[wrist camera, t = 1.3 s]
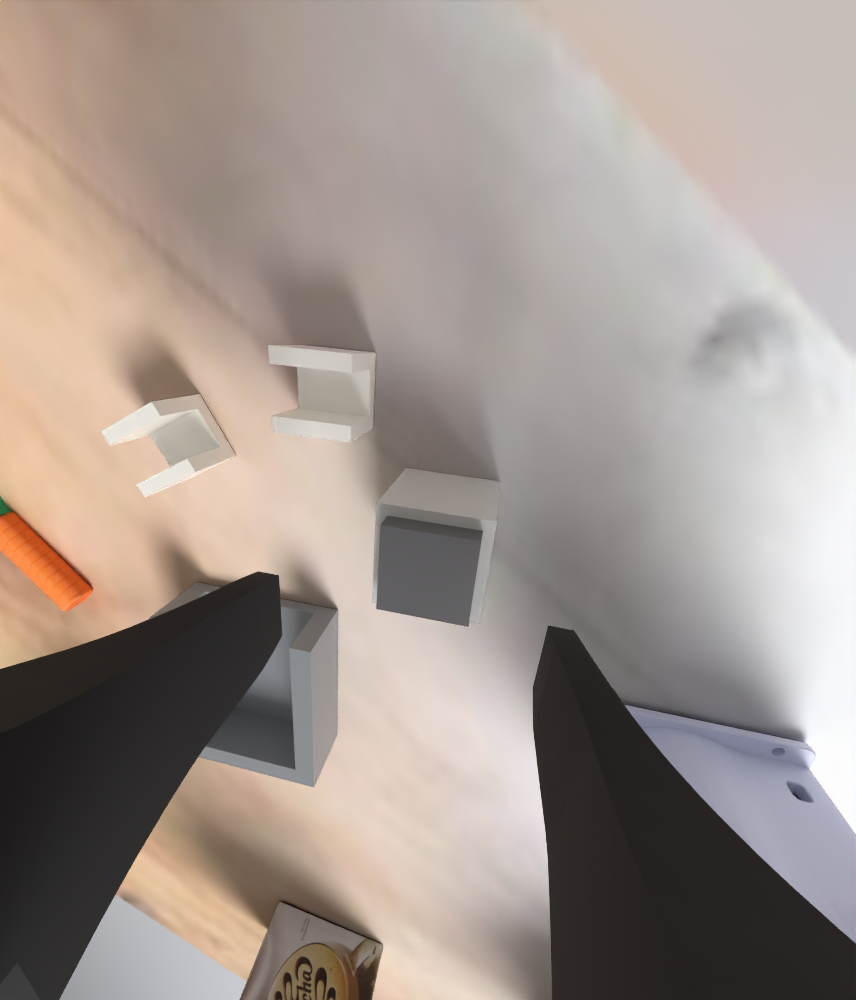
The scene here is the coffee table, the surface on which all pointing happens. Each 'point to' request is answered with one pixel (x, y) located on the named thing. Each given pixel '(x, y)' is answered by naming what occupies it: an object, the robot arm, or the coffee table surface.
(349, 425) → the bracket
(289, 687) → the end holder
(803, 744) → the robot arm
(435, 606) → the plug
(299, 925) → the coffee box
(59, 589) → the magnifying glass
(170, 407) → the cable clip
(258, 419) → the coffee table surface
